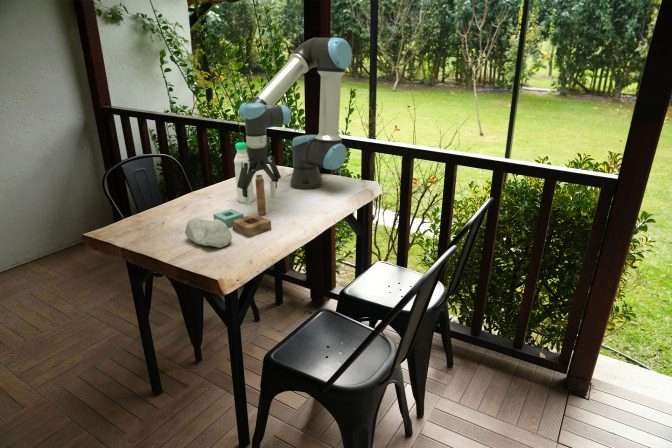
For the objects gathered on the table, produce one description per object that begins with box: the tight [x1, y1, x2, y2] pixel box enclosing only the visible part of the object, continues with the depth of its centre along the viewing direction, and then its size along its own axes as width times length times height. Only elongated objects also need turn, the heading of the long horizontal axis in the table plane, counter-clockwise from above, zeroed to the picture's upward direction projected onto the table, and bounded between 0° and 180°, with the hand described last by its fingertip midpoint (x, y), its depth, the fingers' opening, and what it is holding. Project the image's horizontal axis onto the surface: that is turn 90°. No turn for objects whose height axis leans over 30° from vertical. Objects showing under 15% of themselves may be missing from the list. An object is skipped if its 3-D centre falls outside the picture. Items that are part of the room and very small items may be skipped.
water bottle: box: [233, 141, 255, 204], centre depth 196 cm, size 7×7×25 cm
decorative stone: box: [184, 217, 233, 248], centre depth 160 cm, size 17×10×10 cm
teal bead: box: [213, 208, 244, 229], centre depth 177 cm, size 8×8×4 cm
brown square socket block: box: [232, 213, 272, 238], centre depth 171 cm, size 10×10×4 cm
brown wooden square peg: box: [254, 174, 267, 217], centre depth 183 cm, size 3×3×16 cm
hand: (261, 200), depth 183 cm, fingers open, 12 cm apart
